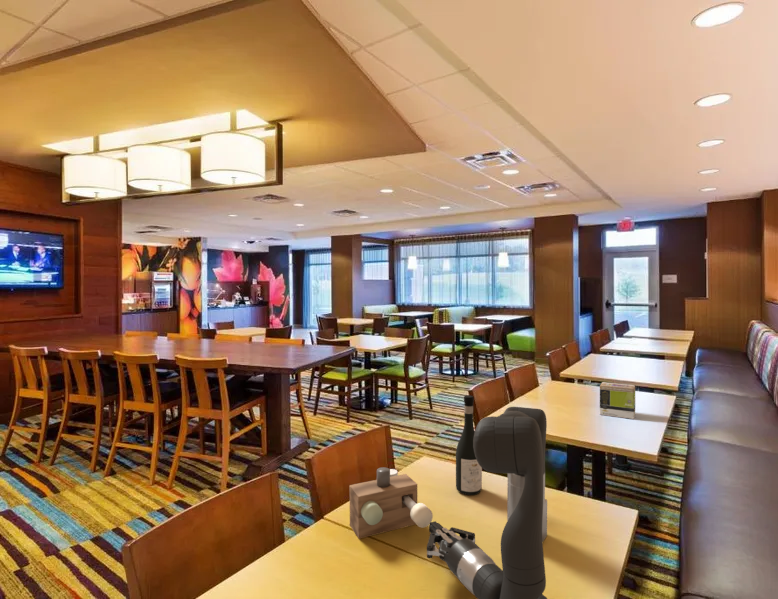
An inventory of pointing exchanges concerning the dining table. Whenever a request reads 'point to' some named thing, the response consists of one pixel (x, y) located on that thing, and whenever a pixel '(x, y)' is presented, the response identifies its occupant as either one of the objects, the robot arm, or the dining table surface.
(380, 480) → the dark grey cylinder
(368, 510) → the knob sage
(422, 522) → the knob cream
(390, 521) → the brown wooden block
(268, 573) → the dining table surface
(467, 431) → the wine bottle
